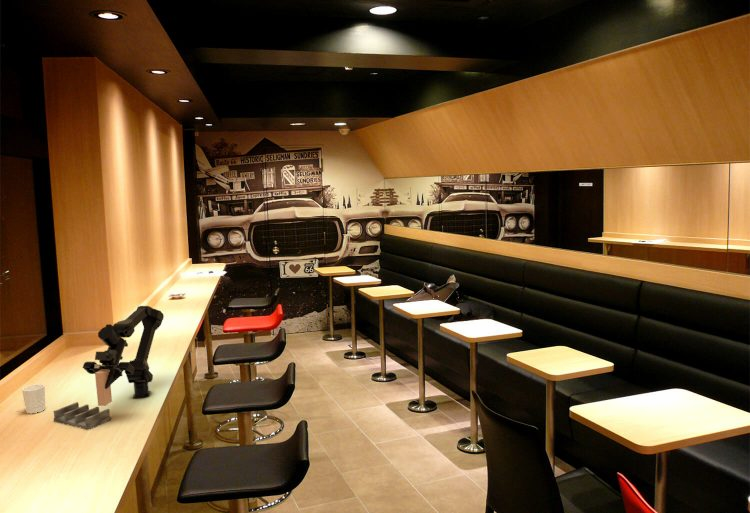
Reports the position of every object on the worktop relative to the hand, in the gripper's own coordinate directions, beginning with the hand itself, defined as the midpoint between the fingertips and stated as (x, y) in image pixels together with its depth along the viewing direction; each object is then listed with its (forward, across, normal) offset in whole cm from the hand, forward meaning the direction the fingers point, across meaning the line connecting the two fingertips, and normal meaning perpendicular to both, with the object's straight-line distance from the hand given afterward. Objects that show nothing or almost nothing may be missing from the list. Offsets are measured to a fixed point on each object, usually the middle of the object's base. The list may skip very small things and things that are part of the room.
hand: (101, 388), depth 231 cm
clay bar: (+4, 0, +6) cm, 7 cm away
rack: (+9, -10, +10) cm, 17 cm away
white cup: (+4, -35, +16) cm, 39 cm away
